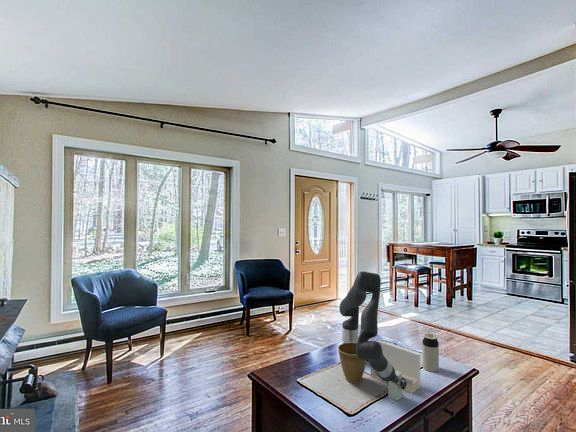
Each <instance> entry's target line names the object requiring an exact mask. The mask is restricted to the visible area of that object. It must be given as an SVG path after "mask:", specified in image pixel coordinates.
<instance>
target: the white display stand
mask: <svg viewBox="0 0 576 432" xmlns="http://www.w3.org/2000/svg"><path fill="white" fill-rule="evenodd" d="M377 342H378V343H380V345H381V347H382V352H383V355H384V357H385V358H386V359H387V360H388V361H389V362H390V364H391V365H392V366H393V367H394V369H395V370H396V371H399V372H402V377H403V378H404V379H405V380H406V382H407V385H406V388H405V389H404V390H403V391H405V392H407V393H410V394H414V393H415V392H416V391H417V390H418V389H419V388H420V387H421V353H420V352H416V351H413V350H410V349H407V348H404V347H401V346H398V345H395V344H391V343H388V342H386V341H382V340H378V341H377ZM370 377H372V378H374V379H376V380H379V381H381V382H384V383H386V384H388V383H387V382H386V381H383V380H382V379H381V378H379V376H378V375H377V374H376V373H375V371H374V369H373V368H372V367H371V366H370Z"/></svg>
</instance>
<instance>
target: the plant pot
mask: <svg viewBox="0 0 576 432" xmlns="http://www.w3.org/2000/svg"><path fill="white" fill-rule="evenodd" d="M356 345H357V343H343V344H342V343H341V344H339V345H338V347H337V351H338V358H339V361H340V366H341V368H342V372H343V374H344V377H345V380H346V381H347V382H349V383H351V384H358V383H360V382H361V381H362V378H363V375H364V372H365V369H366V364H367V360H362V359H360V358H359V357H358V356H357V354H356Z"/></svg>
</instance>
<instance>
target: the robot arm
mask: <svg viewBox="0 0 576 432" xmlns="http://www.w3.org/2000/svg"><path fill="white" fill-rule="evenodd" d="M381 284H382V283H381V276H380V274H378V273H374V272H368V271H364V270H363V271H359V272H358V273H357V275H356V277H355V280H354V282H353V285H352V286H351V288H349V289H350V290H349V291H348V293H347V294H346V296H345V297H344V298H343V299H342V300H341V301H340V302H339V313H340V315H341V316H343V317H349V318H348V319H346V320H344V321H342V325H341V326H342V331H341V332H342V333H341V335H342V338H341V340H342V341H341V344H343V343H357V345H356V354H357V356H358V357H359V358H360V359H362V360H366V361H367V362H368V364H369V365H370V368H371V367H372V368H373V369H374V371H375V373H376V374H377V375H378V376H379V378H381V379H382V380H383V381H386V382H387V383H386V382H385V383H386V384H388V381H390V382H393V383H394V384H395V385H398V386H400V388H401V389H402V391H405V390H404V389H405V388H406V385H407V382H406V380H405V379H404V378H403V377H402V378H400V377H398V376H397V375H396V373H395V369H394V367H393V366H392V365H391V364H390V362H389V361H388V360H387V359H386V358H385V357H384V355H383V352H382V347H381V345H380V343H378V341H376V340H371V341H370V339H371V338H372V339H373V338H375V337H377V336H378V333H379V332H378V312H379V305H380V304H379V303H380V295H381V286H382V285H381ZM367 293H372V294H371V295H372V296H371V298H370V301H369V302H368V303H367V305H366V306H365V308H364V309H363V311H362V312H361V314H360V306H362V305H363V304H364V302H366V299H367ZM360 315H361V316H360ZM359 316H360V318H359ZM359 319H360V320H359ZM359 321H360V324H359ZM359 325H360V332H359ZM383 381H382V382H383ZM399 382H400V384H399Z"/></svg>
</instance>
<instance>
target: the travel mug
mask: <svg viewBox="0 0 576 432" xmlns="http://www.w3.org/2000/svg"><path fill="white" fill-rule="evenodd" d="M422 336H423V339H422V368H423V369H424V370H426V371H428V372H430V373H434V372H435V373H436V372H438V371H439V367H440V366H439V365H440V364H439V362H440V361H439V359H440V357H439V353H440V352H439V351H440V349H439V347H440V346H439V340H438V338H439V336H438V335H437V334H434V333H431V332H425V333H423V334H422Z"/></svg>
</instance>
